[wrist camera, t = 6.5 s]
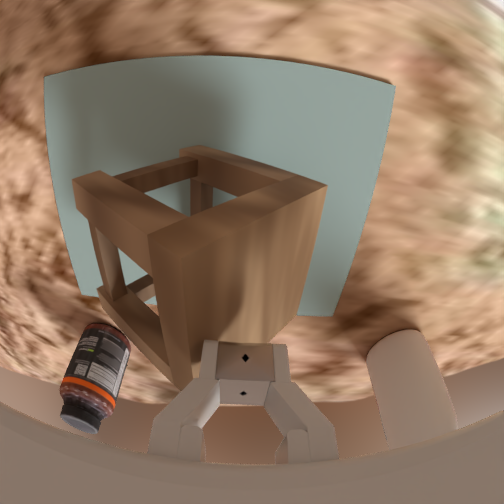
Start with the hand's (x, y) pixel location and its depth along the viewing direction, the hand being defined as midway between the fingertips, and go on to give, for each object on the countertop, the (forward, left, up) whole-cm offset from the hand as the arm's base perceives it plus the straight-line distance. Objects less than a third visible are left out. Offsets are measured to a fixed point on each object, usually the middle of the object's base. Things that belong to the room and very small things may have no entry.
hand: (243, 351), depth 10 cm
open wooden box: (0, 0, -9) cm, 9 cm away
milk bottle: (-19, +16, -12) cm, 27 cm away
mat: (+3, 0, -12) cm, 12 cm away
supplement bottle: (+14, +17, -12) cm, 25 cm away
